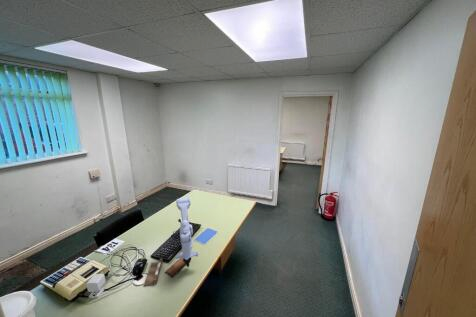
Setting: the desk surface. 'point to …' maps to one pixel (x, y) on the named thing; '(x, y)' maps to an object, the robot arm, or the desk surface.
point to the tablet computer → (206, 236)
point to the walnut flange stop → (153, 273)
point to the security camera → (96, 285)
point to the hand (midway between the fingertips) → (188, 265)
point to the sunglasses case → (175, 267)
